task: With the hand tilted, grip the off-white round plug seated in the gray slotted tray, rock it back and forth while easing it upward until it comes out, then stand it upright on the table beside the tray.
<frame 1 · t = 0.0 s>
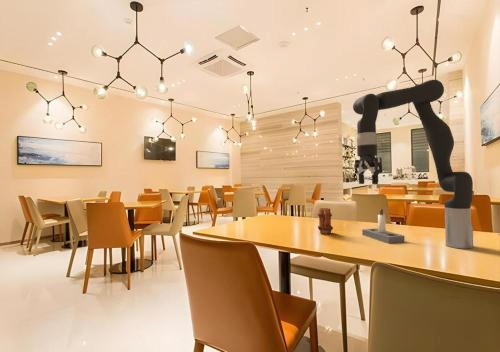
hand: (368, 184, 111), 29 cm above the table, tool pointing down, fingers open, 8 cm apart
plug: (381, 223, 140), in the gray slotted tray
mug: (326, 234, 152), on the table
gray slotted tray: (382, 238, 140), on the table
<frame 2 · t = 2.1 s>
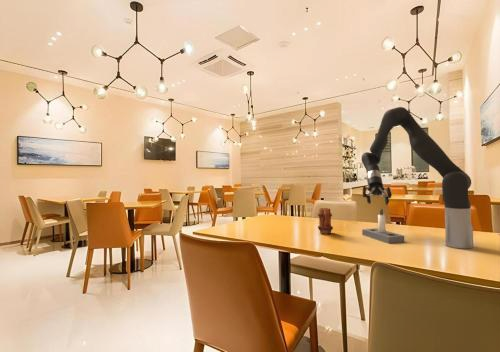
hand: (378, 203, 144), 17 cm above the table, tool tilted 40°, fingers open, 8 cm apart
nothing on the table moved.
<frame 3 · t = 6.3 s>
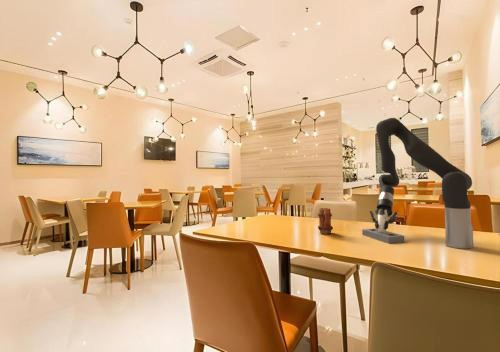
hand: (381, 228, 138), 5 cm above the table, tool tilted 45°, fingers closed on plug, 3 cm apart
plug: (381, 223, 140), in the gray slotted tray, touching gripper
everything else where it was.
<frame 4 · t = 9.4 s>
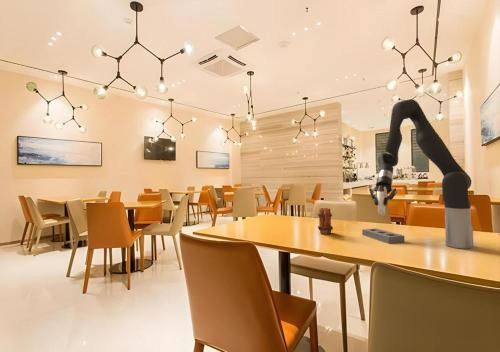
hand: (380, 204, 138), 18 cm above the table, tool tilted 45°, fingers closed on plug, 3 cm apart
plug: (381, 200, 140), point 20 cm above the table, touching gripper
everything else where it was.
when the fingers open (7 cm above the table, at t = 12.6 s): plug drops 1 cm, on the table.
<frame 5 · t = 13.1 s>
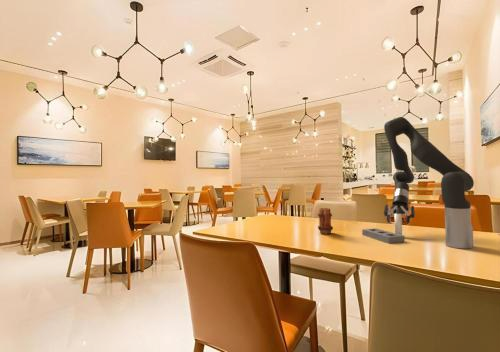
hand: (397, 222, 141), 8 cm above the table, tool tilted 45°, fingers open, 8 cm apart
plug: (398, 222, 142), on the table
everything else where it was.
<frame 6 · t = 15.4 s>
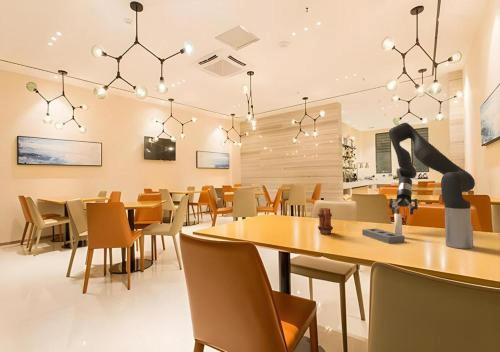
hand: (402, 214, 151), 10 cm above the table, tool tilted 45°, fingers open, 8 cm apart
nothing on the table moved.
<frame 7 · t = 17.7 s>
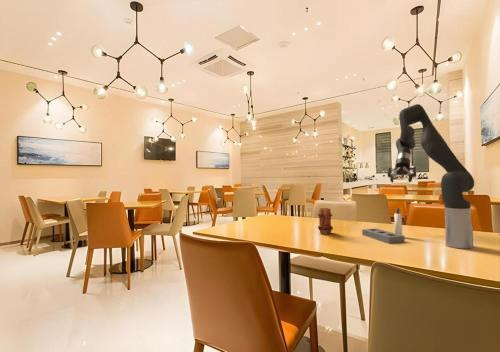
hand: (400, 181, 151), 29 cm above the table, tool tilted 45°, fingers open, 8 cm apart
nothing on the table moved.
at the end: plug inside the target area on the table beside the gray slotted tray (0.1 cm from its centre), on the table; plug tilted 0°; the gripper is holding nothing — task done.
